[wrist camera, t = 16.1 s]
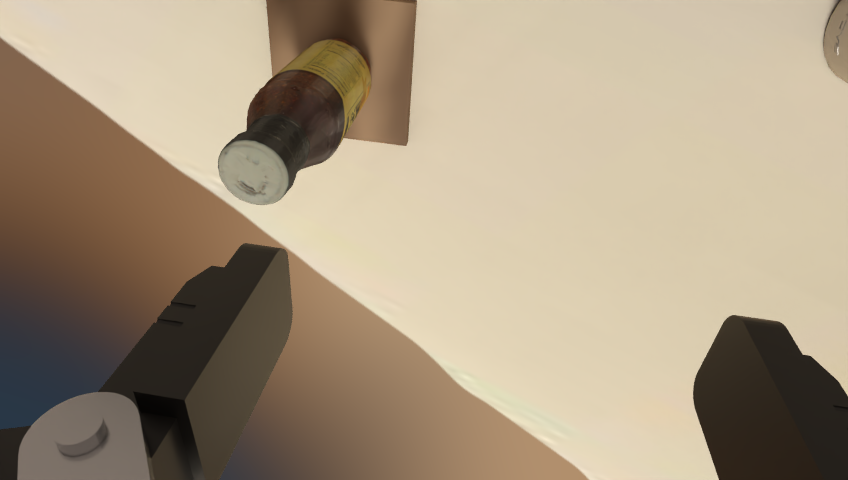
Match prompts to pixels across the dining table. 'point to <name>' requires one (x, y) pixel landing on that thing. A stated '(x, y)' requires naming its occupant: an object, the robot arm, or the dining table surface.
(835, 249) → the dining table surface
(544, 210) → the dining table surface
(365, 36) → the walnut board
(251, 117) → the sauce bottle
